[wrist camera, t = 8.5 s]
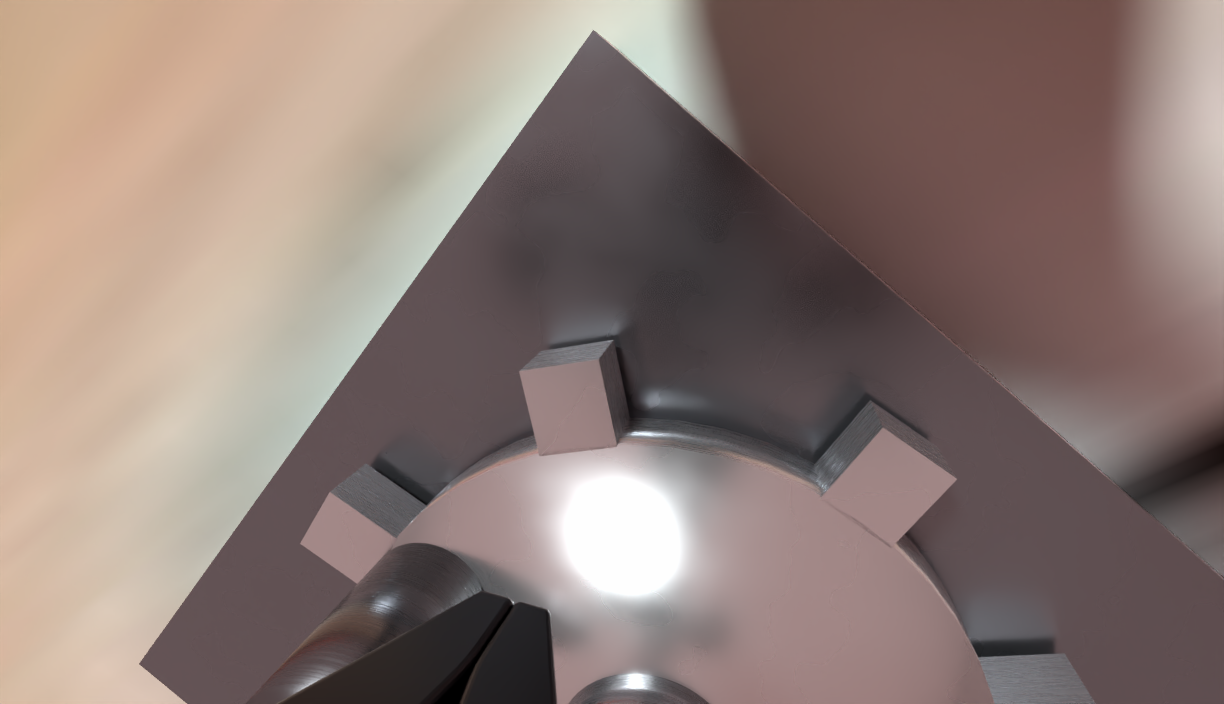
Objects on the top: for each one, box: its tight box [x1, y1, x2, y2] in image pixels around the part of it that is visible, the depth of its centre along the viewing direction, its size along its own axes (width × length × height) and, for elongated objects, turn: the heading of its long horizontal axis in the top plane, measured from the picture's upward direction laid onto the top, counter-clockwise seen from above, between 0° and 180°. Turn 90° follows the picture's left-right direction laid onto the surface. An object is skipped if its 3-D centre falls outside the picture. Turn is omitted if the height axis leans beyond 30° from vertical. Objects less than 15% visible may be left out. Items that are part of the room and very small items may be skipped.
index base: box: [139, 30, 1224, 704], centre depth 19 cm, size 24×24×6 cm
